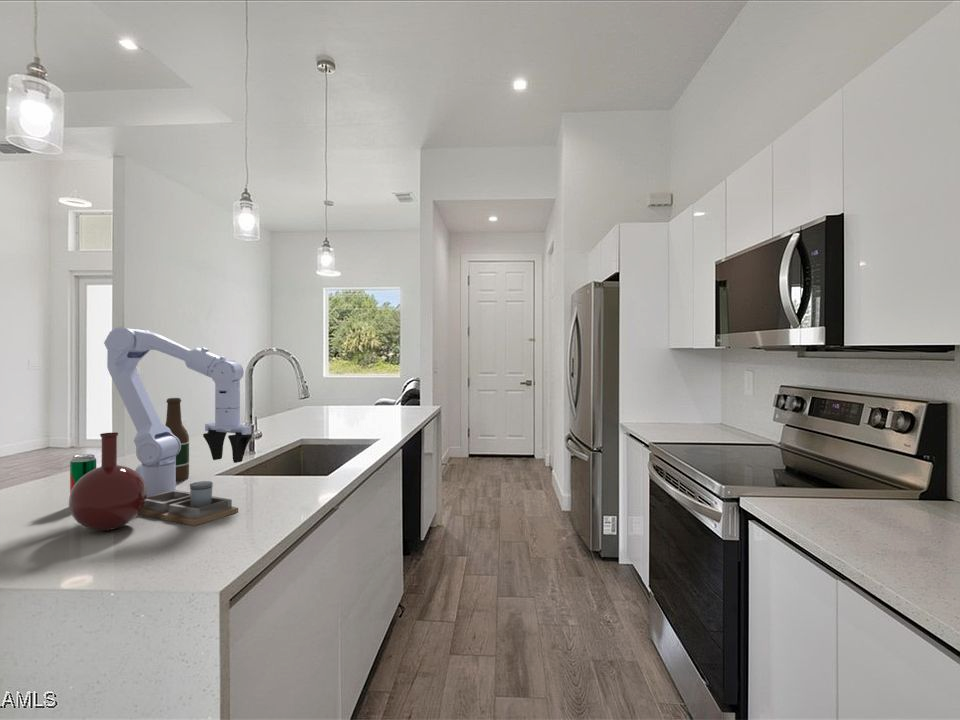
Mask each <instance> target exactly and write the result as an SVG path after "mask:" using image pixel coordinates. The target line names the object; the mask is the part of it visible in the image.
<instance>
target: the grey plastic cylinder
mask: <svg viewBox="0 0 960 720" xmlns="http://www.w3.org/2000/svg"><path fill="white" fill-rule="evenodd" d="M213 484H214V483H213V481H209V480H204V481H203V480H202V481H196V482H192V483H190V485H189V490H190V491H189V492H190V507H193V508H199V507H203V506H206V505H210V504H212V496H213V486H214V485H213Z"/></svg>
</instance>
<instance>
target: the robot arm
mask: <svg viewBox="0 0 960 720" xmlns="http://www.w3.org/2000/svg"><path fill="white" fill-rule="evenodd" d="M103 344H104V346H105V348H106V350H107V355H106V357H107V358H106V360H107V362H106V363H107V365H106V366H107V371H108V372H109V375H110V377H111V379H112V381H113V384H114V385H115V387H116V389H117V392H118V393H119V395H120V398H121V400H122V402H123V404H124V406H125V408H126V410H127V412H128V414H129V416H130V419H131V421H132V423H133V426H134V427H135V430H136V434H135V436H134V439H133V442H134V445H135V449H136V450H135V455H136V458H137V459H138V461H139V462H140V464H139V465H137V467H136V468H135V469H134V471H136V472H137V473H138V474H139V475H140V476H141V477H142V479H143V480H144V482H145V485H146V489H147V496H146V497H148V496H152V495H156V494H160V493H164V492H168V491H172V490H177V487H176V485H177V484H176V483H177V482H176V462H175V461H176V455H177V454H178V453H179V452H180V449H181V443H180V440H179V439H178V438H177V437H176V436H174V435H173V434H172V432H171V430H170V429H169V428H168V427H167V426H165V425H166V424H164V423H162V421H161V419H160V418H159V415H158V413H157V411H156V409H155V406H154V404H153V402H152V401H151V398H150V397H149V394H148V392H147V390H146V388H145V386H144V384H143V382H142V379H141V377H140V375H139V373H138V371H137V369H136V367H137V366H138V364H139V363H140V361H141V360H142V359H143V358H144V357H145V356H146V355H147V354H148V353H149V352H151V351H158V352H160V353H162V354H166V355H168V356H171V357H174V358H176V359H179V360H181V361H183V362H184V363H185V366H186V367H187V368H188V369H189V370H192V371H195V372H197V373H199V374H200V375H204V376H206V377H209V378H211V379H212V381H213V382H214V384H215V385H214V386H215V387H214V389H215V391H214V393H215V394H214V398H215V399H214V407H215V408H214V422H209V423H205V424H204V432H206V433H203V434H202V436H203V438H204V440H205V441H206V443H207V445H208V448H209V451H210V453H211V457H212V460H213V461H218V460H221V459H223V454H224V452H223V451H224V442H225V439H226V436H227V438H228V439H229V443H230V445H231V452H232V461H233V463H235V464H236V463H241V462H243V459H244V456H245V453H246V449H247V447H248V444H249V443H250V441H251V439H252V438H253V434H252V426H251V425H250V426H249V425H245V424H241V380H242V378H243V377H244V368H243V365H242V364H240V363H239V362H237V361H235V360H228V361H227V360H226V359H227V357H226V356H224V355H221V356H219V355H216V354H214V353H212V352H209V351H210V349H209V348H207V347H196V348H193V349H190V348H189V347H186V346H184V345H182V344H180V343H178V342H175V341H174V340H172V339H170V338H167V337H165V336H164V335H161V334H159V333H158V332H157V333H156V332H154V331H149V330H148V329H145V328H144V329H143V328H139V329H137V328H129V327H128V328H127V327H123V326H120V327H119V326H118V327H116V328H115V327H114V328H112V330H111V331H110V332H109V333H108V335H107V336H106V338H105V340H104V341H103ZM227 434H229V435H227ZM230 434H231V435H230Z"/></svg>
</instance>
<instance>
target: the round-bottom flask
mask: <svg viewBox="0 0 960 720" xmlns="http://www.w3.org/2000/svg"><path fill="white" fill-rule="evenodd" d="M99 436H100V438H101V465H100V467H99V466H98V467H96V469H94V470H91V471H90V472H88V473H86V474H85V475H84V476H82V477H81V478H80V479H79V480H78V481H77V482H76V484H75V485H74V487H73V489H72V491H71V493H70V492H69V497H68V508H69V512H70V514H71V516H72V518H73V519H74V520H75V522H76V523H78V524H79V525H81V526H82V527H84V528H86V529H89V530H92V531H98V532H99V531H101V532H103V531H112V530H115V529H118V528H121V527H123V526H125V525H127V524H129V523H130V522H131V521H133V520H134V519H135V518H136V517H137V516H138V515H140V514H139V512H140V511H141V510H142V508H143V506H144V504H145V501H146V496H147V489H146V485H145V482H144V480H143V479H142V477H141V476H140V475H139V474H138V473H137V472H136V471H135V469H133V468H130V467H128V466H124V465H118V463H117V462H118V459H117V458H118V451H117V450H118V445H117V444H118V436H119V432H103V433H100V434H99Z"/></svg>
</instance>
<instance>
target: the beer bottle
mask: <svg viewBox="0 0 960 720" xmlns="http://www.w3.org/2000/svg"><path fill="white" fill-rule="evenodd" d="M165 403H166V404H167V406H166V407H167V408H166V418H165V419H166V420H165V424H164V425H165V426H167V427H168V428H169V429H170V430H171V432H172V434H173V435H174V436H176V437H177V438H178V439H179V440H180V443H181V449H180V452H179V453H178V454H177V455H176V461H175V462H176V483H179V482H184V481H186V480H188V479H189V477H190V435H189V433H188V430H187V429H186V427H185V426H184V425H183V422H182V410H181V403H182V399H181V398H179V397H169V398H167V399H166V402H165Z"/></svg>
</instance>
